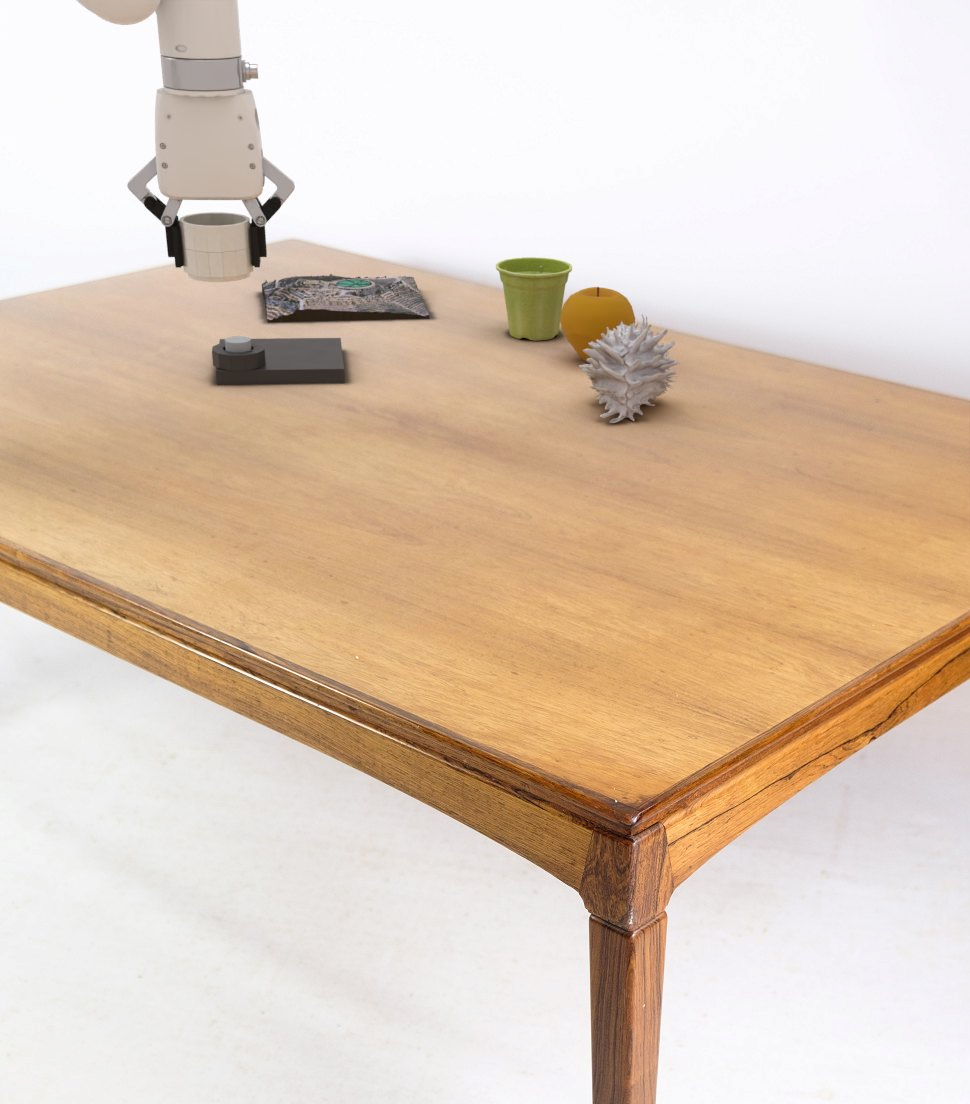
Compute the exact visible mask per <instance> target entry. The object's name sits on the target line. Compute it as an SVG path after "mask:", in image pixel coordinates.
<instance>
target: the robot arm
mask: <svg viewBox="0 0 970 1104" xmlns="http://www.w3.org/2000/svg"><path fill="white" fill-rule="evenodd" d="M75 1H76V2H77V3H79V4H80V5H81V6H82V8H85V9H86V10H88V11H90V12H91V13H93V14H94V15H96V16H97V17H98V18H100V19H102V20H104V21H105V22H108V23H111V24H114V25H119V26H130V25H131V26H132V25H136V24H139V23H141V22H143V21H145V20H147V19H148V18H150V17H151V16H152V15H153V14H154V13H155V15H156V25H157V33H158V34H157V35H158V45H159V54H160V65H161V66H160V68H161V75H162V78H161V79H162V85H163V86H162V87H161V88H157V89H156V94H155V107H154V144H155V145H154V147H155V156H153V158H151V160H150V161H148V162H147V163H146V164H145V165H144V166H143V167H142V168H141V169H139V171H138V172H136V173H135V174H134V175H133V176H132V177H131V178H130V179H129V181H128V183H127V185H126V186H127V189H128V190H129V191H130V193H131V194H132V195H134V196H135V197H136V199H137V200H138V201H139V202H141V203H142V205H143V206H144V207H145V209H147V210H148V211H149V212H150V213H151V214H152V215H153V216H154V217H155V218H156V219H157V220H159V221H160V223H161V225H163V226H164V230H165V239H166V248H167V249H166V251H167V257H168V258H174V265H175V269H177V268H178V269H181V268H182V267H183V255H182V245H181V234H180V225H179V220H180V218H179V216H178V212H179V210H180V208H181V206H182V203H183V201H241V202H242V203H243V205H244V207H245V209H246V211H247V212H248V214H249V215H250V218H251V219H250V240H251V253H252V266H253V267H254V268H261V258H267V256H268V252H267V249H268V248H267V238H266V236H267V235H266V225H267V223H268V222H269V221H270V220H271V218H272V217H273V216H275V214H276V213H277V212H278V211H279V210H280V209H281V207H282V206H283V205H284V203H285V202H286V201H287V200H288V198H290V196H291V194H292V193H293V192H294V191H295V188H296V184H295V182H294V180H292V178H290V177H289V176H288V175H287V174H285V173H284V172H283V171H282V170H281V169H279V168H278V167H277V166H276V165H274V164H273V163H272V162H271V161H270V160H268V159H267V158H266V157H265V156H264V151H263V144H262V136H261V135H262V134H261V126H260V120H259V113H258V110H257V103H256V101H255V97H254V94H253V93H254V92H253V91H252V89H248V88H245V86H244V85H245V83H247V82H248V81H251V80H252V79H255V80H258V79H259V66H258V65H259V64H258V63H250V62H248V61H247V62H246V60H245V59H243V55H242V43H241V29H240V28H241V27H240V16H239V15H240V14H239V1H238V0H75ZM154 177H157V185H158V189H159V192H160V193H161V194H162V195H163V196H164V197H166V198H168V199H167V202H166V204H165V202H163V200H161V199H159V197H157V195H155V194H153V192H152V191H151V190H150V188H149V187H148V185H147V184H148V183H149V182H151V180H153V179H154ZM265 177H266V178H265ZM266 179H268V180H269V181H270V182H271V183H273V184H274V185H275V186H276V189H275V191H274V192H273V193H272V194H271V196H270V197H268V199H267V200H266V201H265V202H264V203H263V204H262V201H261V200H260V198H259V197H260V196H261V195H262V193H263V189H264V186H265V181H266Z"/></svg>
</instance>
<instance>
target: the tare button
mask: <svg viewBox="0 0 970 1104" xmlns="http://www.w3.org/2000/svg"><path fill="white" fill-rule="evenodd" d="M224 339H225V348H226V351H227V352H246V351H251V339H252V338H250V337H249V336H243V335H235V336H227V337H226V338H224Z"/></svg>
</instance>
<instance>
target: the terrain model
mask: <svg viewBox="0 0 970 1104" xmlns="http://www.w3.org/2000/svg"><path fill="white" fill-rule="evenodd" d="M261 294H262V297H263V301H264V305H265V311H266V320H267V323H268V324H270V323H273V324H274V323H277V324H278V323H307V322H308V323H313V322H315V323H317V322H353V321H354V322H355V321H356V322H357V321H393V320H395V321H396V320H398V321H399V320H428V319H430V314H429V312H428V309H427V307H426V305H425V302H424V300H423V298H422V295H421V293H420V290H419V288H418V285H417V282H416V280H415V277H413V276H406V275H403V276H402V275H400V276H387V275H385V276H382V277H380V276H377V277H368V276H364V277H361V276H355V277H346V276H340V275H333V274H332V273H330V274H329V275H314V276H313V275H303V276H301V275H300V276H298V275H295V276H290V277H284V278H280V279H274V280H271V281H268V280H266V279H265V281H264V282H262V283H261Z"/></svg>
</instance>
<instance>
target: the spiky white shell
mask: <svg viewBox="0 0 970 1104" xmlns="http://www.w3.org/2000/svg"><path fill="white" fill-rule="evenodd" d="M641 316H642V324H641V326H640V327H638V326H639V322H638V321H635V326H634V323H633V324H632V325H631V326H627V325H624V324H623V322H622V320H621V324H620V325H619V326H616V327H617V330H616V329H615V328H613V331H611V330H609V328H608V327H607V334H606V335H604V333H602V334H601V336H602V338H603V340H598V339H597V340H596V342H597V343H594V342H593V341H591V343H588V344H589V346H591V347H592V348H593V349H584V350H583V352H584V353H586V354H587V355H588V356H590V357H591V358H588V359H587V360H586V361H587V362H589V363H587V362H586V361H585V362H586V363H583V364H579V365H578V368H579V369H581V371H582V372H583V373H584V374H585V376H588V377H587V379H588V380H590V381H591V384H592V385H591V386H589V388H590V389H592V390H595V392H596V393H598V394H599V395H598V396H597V397H596V398H595V400H597V401H598V404H599V405H603V404H606V405H605V406H604V410H605V411H607V412H604V413H601V414H600V415H599V418H600V419H606V418H609V417H611V416H614V415H616V414H619V415H618V417H615V418H612V419H611V420H609V422H608V423H609V424H615V423H618V422H620V421H623V420H624V419H625V418H626V419H628V418H629V419H630V420H631V421H632V422H635V417H634V414H639V415H640V416H643V415H644V413H643V411H642V410H641V406H642V405H646V406H650V407H654V406H656V404H655V403H651V401H654V400H656V398H657V397H660V396H662V395H664V394H666V392H668V389H667V388H670V389H673V386H672V385H671V384H670V383H676V382H677V381H676V380H673V379H674V378H675V377H676V375H677V369H675V370H670V368H672V367H674V366H677V365H679V364H680V363H681V361H679V360H675V359H674V358H671V357H668V356H669V354H670V351H669V350H670V349H672V348H673V347H674V346H675V345H676V341H675V340H672V341H670V342H669V343H666V344H665V343H660V344H659V342H660V341H661V340H662V339H663V338H664V337H665V335H667V333H668V330H669V329H665V330H663V331H662V332H659V331H657V332H656V335H654V331H653V330H652V329H651V328H652V324H649V322H648V316H646V317H644V314H641ZM650 329H651V330H650Z"/></svg>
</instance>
